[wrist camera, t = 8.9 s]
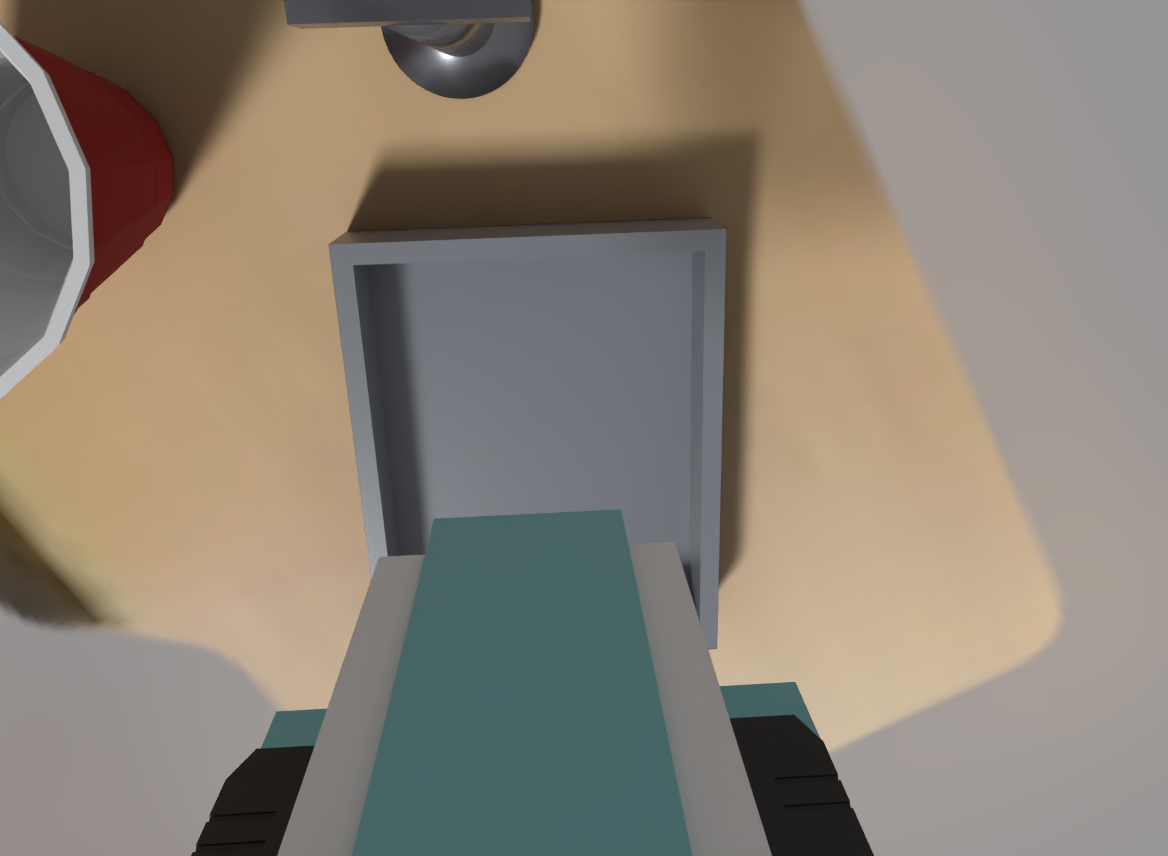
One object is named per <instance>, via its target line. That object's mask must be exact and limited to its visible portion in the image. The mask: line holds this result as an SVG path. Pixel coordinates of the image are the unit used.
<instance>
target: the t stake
mask: <svg viewBox="0 0 1168 856" xmlns="http://www.w3.org/2000/svg"><path fill="white" fill-rule="evenodd" d="M284 2H285V10H286V17H287V24H288V25H291V26H295V27H298V28H302V29H305V28H338V27H370V26H381V28H382V32H383V36H384V39H385V42H386V45H387V47H388V49H389V52H390V53H391V55H392V57H393V59H394V61H395V62H396V63H397V65H398V66H399V67H400V69H401V70H402V71H403V72H404V73H405V74H406V75H407V76H408V77H409V78H410V79H411V80H412V81H414V82H415V83H416V84H417V85H419V86H421V87H422V88H424V89H425V90H428V91H430V92H432V93H434V94H437V95H440V96H443V97H449V98H458V99H466V98H475V97H479V96H483V95H485V94H488V93H490V92H493V91H494V90H496V89H498V88H500V87H501V86H502V85H504V84H505V83H506V82H507V81H509V80H510V79H511V78H512V77H513V76H514V74H515V73H516V72H517V71H518V69H519V68H520V67H521V65H522V63H523V61H524V60H525V58H526V56H527V53H528V51H529V48H530V45H531V41H532V37H533V30H534V10H533V2H532V0H284Z"/></svg>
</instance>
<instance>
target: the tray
mask: <svg viewBox="0 0 1168 856" xmlns="http://www.w3.org/2000/svg"><path fill="white" fill-rule="evenodd" d="M329 252H330V259H331V267H332V275H333V283H334V291H335V299H336V306H337V314H338V322H339V330H340V338H341V346H342V353H343V361H344V369H345V377H346V385H347V393H348V400H349V408H350V416H351V424H352V432H353V440H354V447H355V455H356V463H357V471H358V479H359V487H360V494H361V502H362V510H363V518H364V526H365V534H366V541H367V549H368V557H369V565H370V573H371V579H372V576H373V573H374V570H375V568H376V565H377V562H378V559H379V557H387V556H406V555H425V553H426V549H427V545H428V541H429V537H430V532H431V528H432V524H433V520H434V519H437V518H457V517H477V516H497V515H517V514H537V513H557V512H577V511H597V510H617V509H621V511H622V516H623V521H624V526H625V531H626V535H627V540H628V544H640V543H659V542H675V544H676V548H677V551H678V554H679V557H680V560H681V564H682V567H683V570H684V573H685V577H686V580H687V583H688V586H689V590H690V593H691V596H692V599H693V602H694V606H695V609H696V612H697V615H698V619H699V622H700V625H701V628H702V632H703V635H704V638H705V641H706V644H707V648H708V649H717V634H718V589H719V543H720V498H721V453H722V408H723V363H724V318H725V273H726V228H724V227H723V226H722V225H720V224H719V223H717V222H716V221H714V220H713V219H712V218H684V219H659V220H633V221H607V222H581V223H555V224H530V225H504V226H478V227H452V228H426V229H400V230H375V231H349V232H345V233H344V234H343V235H341V236H340V237H338V238H337V239H336V240H334V241H333V242H332V243H330V244H329Z"/></svg>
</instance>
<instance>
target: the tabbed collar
mask: <svg viewBox="0 0 1168 856" xmlns="http://www.w3.org/2000/svg"><path fill="white" fill-rule="evenodd" d="M720 690H721V693H722V696H723V699H724V703H725V706H726V709H727V712H728V715H729V718H743V717H760V716H778V715H795V716H796V717H798V718H799V719H800V720H801V721H802V722H803V723H804V724H805V725H806V726H807V727H808V728H809V729H810V730H812V731H813V732H814V733H815V734H816V735H817V736H818V737H819V735H818V732H817V730H816V728H815V726H814V723H813V721H812V719H811V716H810V714H809V712H808V710H807V707H806V705H805V703H804V701H803V698H802V696H801V694H800V692H799V689H798V687H797V685H796V683H795V682H787V683H770V684H752V685H735V686H720ZM326 711H327V709H314V710H297V711H279V712H276V714H275V716H274V719H273V721H272V723H271V726H270V728H269V731H268V733H267V736H266V738H265V740H264V743H263V745H262V747H261V748H278V747H295V746H312V745H315V744H316V741H317V738H318V735H319V732H320V729H321V726H322V723H323V720H324V717H325V714H326ZM819 738H820V737H819ZM352 856H692V852H691V847H690V842H689V837H688V832H687V827H686V822H685V817H684V813H683V808H682V803H681V798H680V793H679V788H678V783H677V779H676V774H675V769H674V764H673V759H672V754H671V749H670V745H669V740H668V735H667V730H666V725H665V720H664V715H663V710H662V706H661V701H660V696H659V691H658V686H657V681H656V676H655V672H654V667H653V662H652V657H651V652H650V647H649V642H648V638H647V633H646V628H645V623H644V618H643V613H642V608H641V603H640V599H639V594H638V589H637V584H636V579H635V574H634V569H633V565H632V560H631V555H630V550H629V545H628V540H627V535H626V531H625V526H624V521H623V516H622V511H621V509H617V510H597V511H577V512H557V513H537V514H517V515H497V516H477V517H457V518H437V519H434V520H433V524H432V528H431V532H430V537H429V541H428V545H427V549H426V553H425V557H424V561H423V565H422V569H421V574H420V578H419V582H418V586H417V590H416V594H415V598H414V602H413V607H412V611H411V615H410V619H409V623H408V627H407V631H406V635H405V640H404V644H403V648H402V652H401V656H400V660H399V664H398V668H397V672H396V677H395V681H394V685H393V689H392V693H391V697H390V701H389V705H388V710H387V714H386V718H385V722H384V726H383V730H382V734H381V738H380V742H379V747H378V751H377V755H376V759H375V763H374V767H373V771H372V775H371V780H370V784H369V788H368V792H367V796H366V800H365V804H364V808H363V813H362V817H361V821H360V825H359V829H358V833H357V837H356V841H355V845H354V850H353V854H352Z"/></svg>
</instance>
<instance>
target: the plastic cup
mask: <svg viewBox="0 0 1168 856" xmlns="http://www.w3.org/2000/svg"><path fill="white" fill-rule="evenodd" d="M173 191H174V175H173V156H172V154H171V151H170V149H169V147H168V145H167V142H166V140H165V138H164V136H163V133H162V131H161V129H160V126H159V124H158V123H157V122H156V121H155V120H154V119H153V118H152V116H151V115H150V114H149V113H148V112H147V111H146V110H145V109H144V108H143V107H142V106H141V105H140V104H139V103H138V102H137V100H136V99H135V98H134V97H133V96H132V95H131V94H130V93H129V92H128V91H126V90H124V89H122V88H120V87H118V86H116V85H114V84H112V83H110V82H108V81H106V80H105V79H103V78H101V77H99V76H97V75H95V74H93V73H91V72H88V71H86V70H83V69H81V68H80V67H78V66H76V65H74V64H72V63H70V62H68V61H66V60H64V59H62V58H60V57H58V56H56V55H54V54H53V53H50V52H48V51H46V50H44V49H42V48H39V47H37V46H35V45H33V44H30V43H28V42H26V41H24V40H22V39H19V38H17V37H15V36H13V35H12V34H11V33H10V32H9V31H8V30H7V29H6V28H5V27H4V26H3V24H2V23H1V22H0V399H1V398H2V397H3V396H4V395H5V394H6V393H7V392H8V391H9V390H11V389H12V388H13V387H14V386H15V385H16V384H17V383H18V382H19V381H20V380H21V379H23V378H24V377H25V376H26V375H27V374H28V373H29V372H30V371H31V370H32V369H33V368H34V367H36V366H37V365H38V364H39V363H40V362H41V361H42V360H43V359H44V358H45V357H46V356H48V355H49V354H50V353H51V352H52V351H53V350H54V349H55V348H56V347H57V346H58V345H59V344H60V343H61V342H62V341H63V340H64V339H65V336H66V334H67V331H68V328H69V326H70V323H71V321H72V318H73V316H74V314H75V313H76V311H77V309H78V308H79V307H80V306H81V305H82V304H83V303H85V302H86V301H87V300H88V299H89V297H90V294H91V293H92V292H93V291H94V290H95V289H96V288H97V287H98V286H99V285H101V284H102V283H103V282H104V281H105V280H106V279H107V278H108V277H109V276H110V275H112V274H113V273H114V272H115V271H116V270H117V269H118V268H119V267H120V266H121V265H122V264H123V263H125V262H126V261H127V260H128V259H129V258H130V257H131V256H132V255H133V254H134V253H135V252H136V251H137V250H139V249H140V248H141V247H142V246H143V243H144V241H145V239H146V238H147V237H148V236H149V235H150V234H151V233H152V232H153V231H154V230H156V229H157V228H158V227H159V226H160V225H161V223H162V221H163V218H164V215H165V213H166V210H167V208H168V205H169V203H170V200H171V197H172V195H173Z"/></svg>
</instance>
